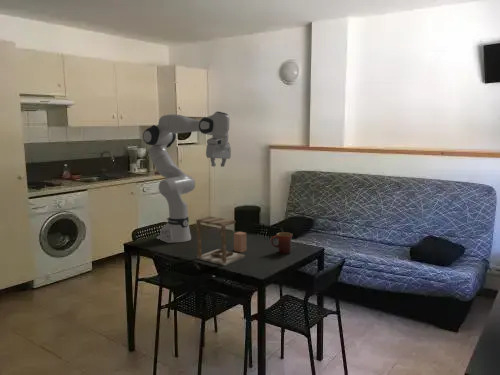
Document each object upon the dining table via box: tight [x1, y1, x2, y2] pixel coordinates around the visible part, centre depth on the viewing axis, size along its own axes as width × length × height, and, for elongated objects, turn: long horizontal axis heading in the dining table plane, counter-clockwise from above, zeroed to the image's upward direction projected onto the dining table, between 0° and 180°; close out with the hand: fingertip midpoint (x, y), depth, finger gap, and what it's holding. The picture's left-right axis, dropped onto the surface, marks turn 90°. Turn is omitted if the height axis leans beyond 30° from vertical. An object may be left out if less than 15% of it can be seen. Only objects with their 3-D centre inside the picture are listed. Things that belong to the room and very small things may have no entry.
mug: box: [270, 231, 293, 255], centre depth 233 cm, size 12×9×10 cm
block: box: [233, 231, 248, 253], centre depth 238 cm, size 5×5×10 cm
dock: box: [195, 215, 246, 266], centre depth 225 cm, size 19×16×21 cm
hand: (218, 166), depth 237 cm, fingers open, 8 cm apart
